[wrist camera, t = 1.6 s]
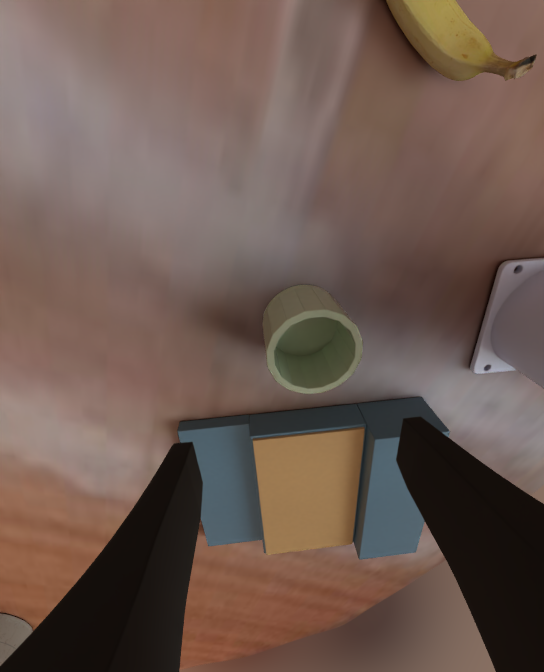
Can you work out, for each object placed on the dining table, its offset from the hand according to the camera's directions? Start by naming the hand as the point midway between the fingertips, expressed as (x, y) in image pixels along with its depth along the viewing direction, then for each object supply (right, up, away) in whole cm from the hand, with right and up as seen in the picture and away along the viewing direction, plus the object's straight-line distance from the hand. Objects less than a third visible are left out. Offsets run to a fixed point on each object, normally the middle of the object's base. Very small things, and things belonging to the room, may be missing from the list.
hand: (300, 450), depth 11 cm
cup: (+1, +5, +9) cm, 10 cm away
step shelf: (+2, -8, +15) cm, 17 cm away
